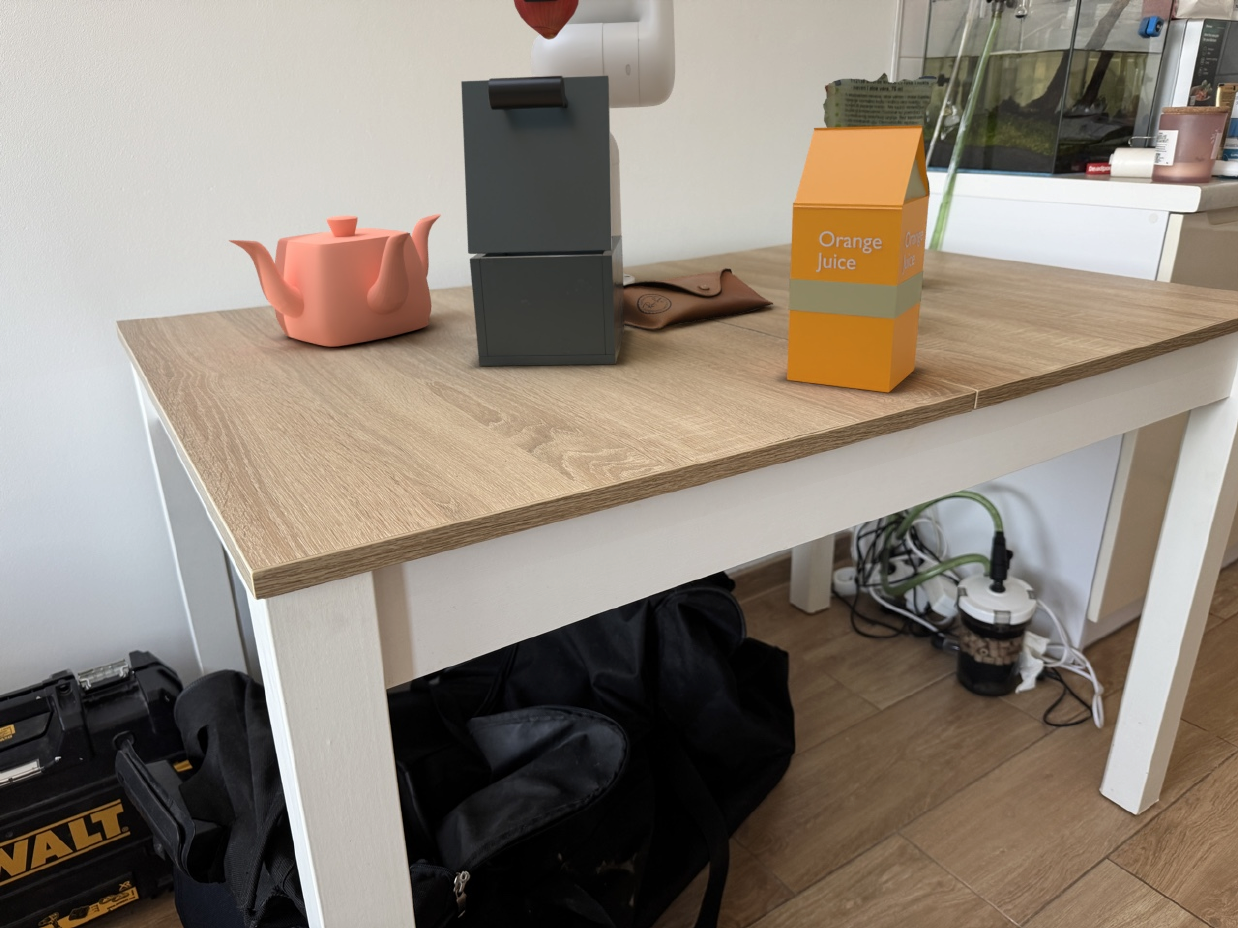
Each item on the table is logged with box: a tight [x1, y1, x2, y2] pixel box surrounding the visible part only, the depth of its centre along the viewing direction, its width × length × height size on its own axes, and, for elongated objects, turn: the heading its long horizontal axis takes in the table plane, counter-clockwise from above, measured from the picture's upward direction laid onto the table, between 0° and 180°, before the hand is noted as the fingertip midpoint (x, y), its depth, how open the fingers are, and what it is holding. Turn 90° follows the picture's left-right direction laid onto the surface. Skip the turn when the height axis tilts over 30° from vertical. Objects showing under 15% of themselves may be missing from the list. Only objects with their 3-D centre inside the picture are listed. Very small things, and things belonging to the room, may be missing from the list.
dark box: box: [469, 235, 626, 367], centre depth 89 cm, size 14×13×10 cm
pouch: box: [822, 72, 939, 198], centre depth 111 cm, size 11×12×25 cm
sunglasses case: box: [624, 267, 774, 330], centre depth 103 cm, size 18×7×7 cm
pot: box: [228, 213, 442, 347], centre depth 98 cm, size 18×17×12 cm
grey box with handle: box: [460, 76, 612, 255], centre depth 77 cm, size 15×13×6 cm
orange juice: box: [786, 125, 930, 393], centre depth 75 cm, size 8×9×20 cm
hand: (546, 3), depth 80 cm, fingers closed on onion, 5 cm apart
